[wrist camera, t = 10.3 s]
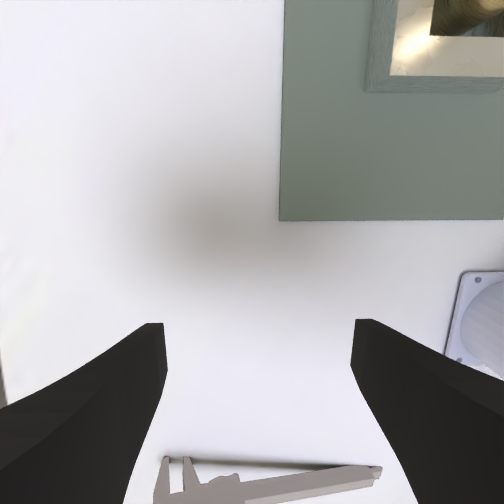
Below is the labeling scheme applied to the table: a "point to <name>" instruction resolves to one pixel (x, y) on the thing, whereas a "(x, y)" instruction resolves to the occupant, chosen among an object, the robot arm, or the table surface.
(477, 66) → the silver square socket
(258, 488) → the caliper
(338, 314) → the table surface
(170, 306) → the table surface
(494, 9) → the pin
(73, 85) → the table surface
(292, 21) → the mat
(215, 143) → the table surface
